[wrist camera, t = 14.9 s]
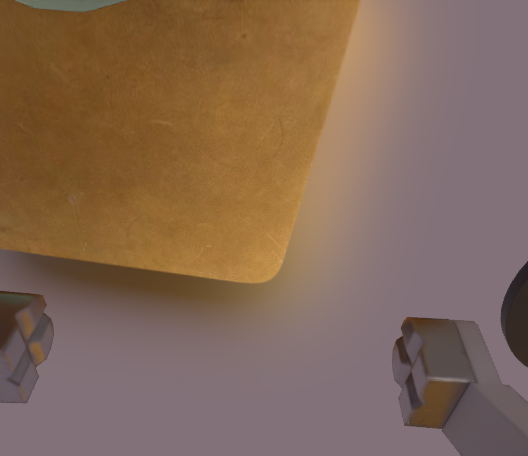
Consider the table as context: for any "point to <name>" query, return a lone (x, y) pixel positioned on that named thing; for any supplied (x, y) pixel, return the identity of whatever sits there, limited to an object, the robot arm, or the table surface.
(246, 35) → the table surface
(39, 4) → the bowl
